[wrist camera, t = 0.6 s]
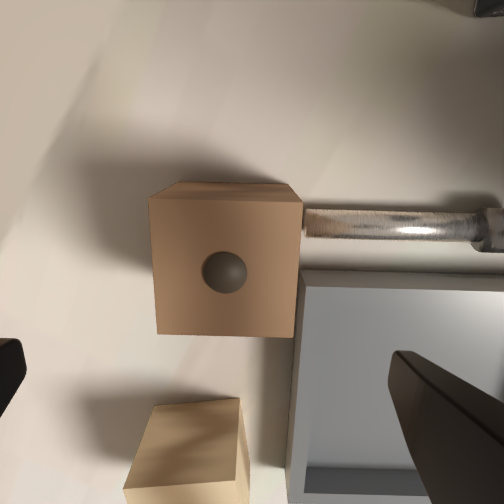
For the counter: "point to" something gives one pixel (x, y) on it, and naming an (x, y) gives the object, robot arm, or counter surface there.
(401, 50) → the counter surface
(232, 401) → the block
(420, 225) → the rod
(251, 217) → the block
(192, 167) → the counter surface
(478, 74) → the counter surface
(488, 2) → the box
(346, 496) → the tray
